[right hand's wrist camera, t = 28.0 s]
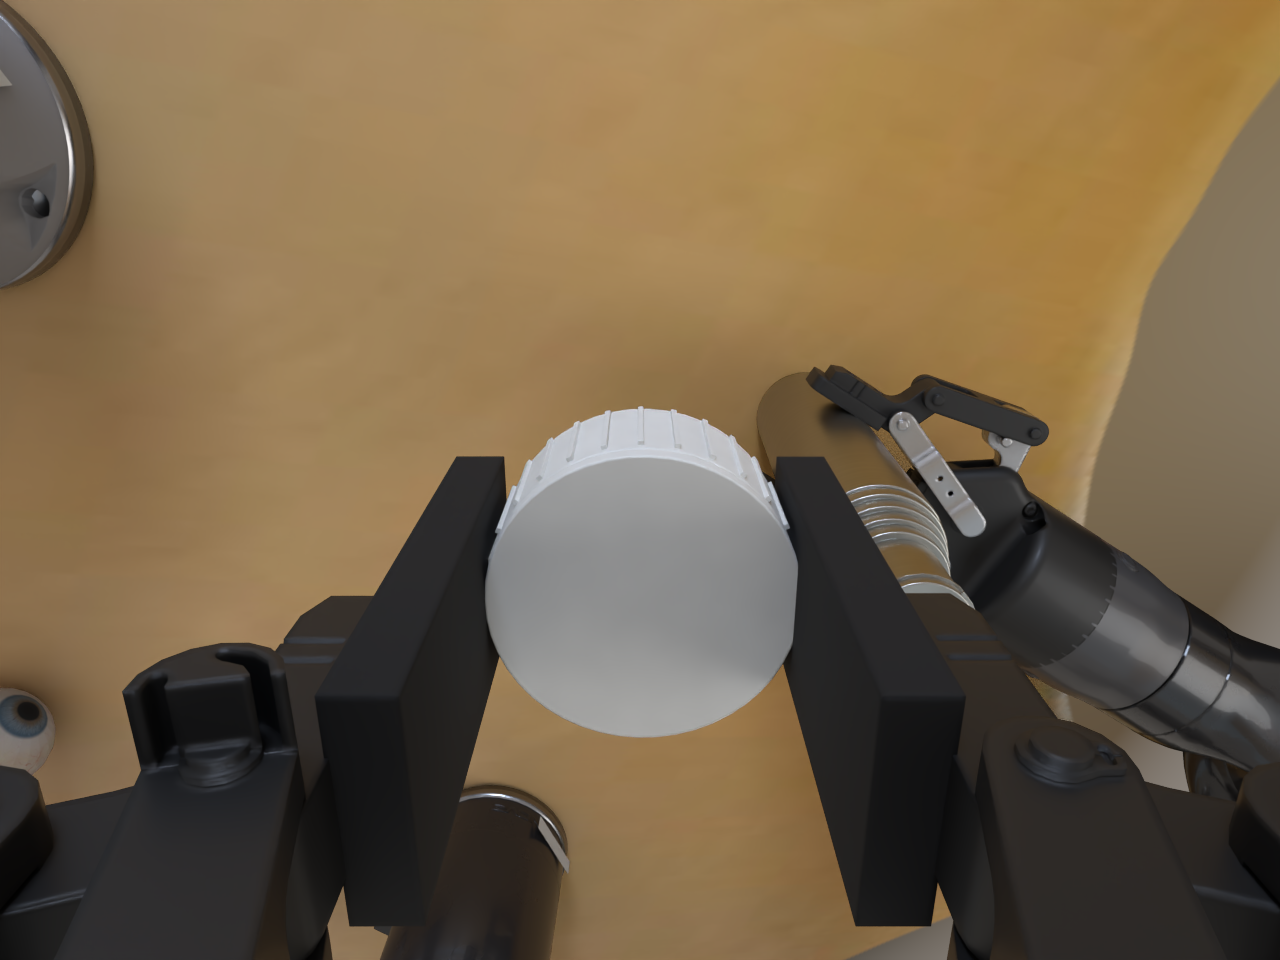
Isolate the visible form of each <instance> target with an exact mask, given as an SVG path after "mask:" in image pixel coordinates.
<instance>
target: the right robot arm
mask: <svg viewBox="0 0 1280 960" xmlns="http://www.w3.org/2000/svg"><path fill="white" fill-rule="evenodd" d="M92 186H93V154H92V146H91V140H90V134H89V130H88V126H87V122H86V118H85V115H84V112H83V109H82V106H81V103H80V101H79V99H78V96H77V94H76V92H75V89H74V87H73V85H72V83H71V81H70V79H69V77H68V76H67V74H66V72H65V70H64V69H63V67H62V65H61V64H60V62H59V61H58V59H57V57H56V56H55V54H54V53H53V52H52V50H51V49H50V48H49V46H48V45H47V44H46V42H45V41H44V40H43V39H42V38H41V36H40V35H39V34H38V33H37V32H36V31H35V30H34V28H33V27H32V26H31V25H30V24H29V23H28V22H27V21H26V20H25V19H24V18H23V17H22V16H21V15H20V14H18V13H17V12H16V11H15V10H14V9H12V8H11V7H10V6H9V5H8V4H6V3H5V2H4V1H2V0H0V290H2V289H7V288H10V287H14V286H18V285H20V284H23V283H25V282H28V281H30V280H32V279H34V278H36V277H37V276H39V275H41V274H43V273H44V272H45V271H47V270H48V269H49V268H51V267H52V266H53V265H54V264H55V263H56V262H57V261H59V260H60V259H61V258H62V256H63V255H64V254H65V253H66V252H67V251H68V249H69V248H70V247H71V245H72V244H73V242H74V241H75V239H76V237H77V236H78V234H79V232H80V230H81V227H82V225H83V223H84V220H85V217H86V215H87V212H88V208H89V204H90V199H91V193H92ZM775 491H776V494H777V496H778V499H779V501H780V504H781V506H782V509H783V512H784V514H785V517H786V519H787V522H788V524H789V527H790V528H789V529H787V530H786V531H787V533H788V536H789V538H790V541H791V544H792V546H793V549H794V551H795V554H796V557H797V561H798V576H797V591H796V605H795V619H794V633H793V645H792V647H791V649H790V651H789V653H788V655H787V657H786V659H785V661H784V663H783V665H784V668H785V672H786V676H787V679H788V683H789V687H790V690H791V694H792V697H793V701H794V705H795V708H796V712H797V715H798V719H799V723H800V726H801V730H802V734H803V737H804V741H805V744H806V748H807V752H808V755H809V759H810V763H811V766H812V770H813V773H814V777H815V781H816V784H817V788H818V792H819V795H820V799H821V802H822V806H823V810H824V813H825V817H826V821H827V824H828V828H829V831H830V835H831V839H832V842H833V846H834V850H835V853H836V857H837V860H838V864H839V868H840V871H841V875H842V878H843V882H844V886H845V889H846V893H847V897H848V900H849V904H850V907H851V911H852V915H853V918H854V922H855V926H931V923H932V916H933V910H934V903H935V897H936V890H937V884H939V886H940V889H941V891H942V894H943V896H944V899H945V901H946V903H947V906H948V908H949V911H950V913H951V916H952V918H953V926H952V932H951V938H950V944H949V950H948V956H947V960H1280V762H1275V763H1269V764H1263V765H1257V766H1256V767H1255V768H1253V769H1252V770H1251V771H1250V772H1249V773H1248V774H1246V775H1245V776H1244V778H1243V781H1242V785H1241V788H1240V791H1239V795H1238V798H1237V801H1236V802H1235V801H1230V800H1225V799H1220V798H1215V797H1210V796H1206V795H1201V794H1196V793H1191V792H1186V791H1181V790H1176V789H1172V788H1167V787H1164V786H1160V785H1156V784H1152V783H1149V782H1145V781H1144V779H1143V777H1142V775H1141V773H1140V771H1139V769H1138V768H1137V766H1136V765H1135V764H1134V762H1133V761H1132V760H1131V758H1130V757H1129V756H1128V755H1127V753H1126V752H1125V751H1124V750H1123V749H1121V748H1120V747H1119V746H1117V745H1116V744H1114V743H1113V742H1112V741H1110V740H1109V739H1107V738H1106V737H1105V736H1103V735H1102V734H1099V733H1097V732H1095V731H1092V730H1090V729H1088V728H1085V727H1083V726H1081V725H1078V724H1076V723H1074V722H1069V721H1065V720H1060V719H1057V717H1056V716H1055V714H1054V713H1053V712H1052V710H1051V709H1050V708H1049V706H1048V705H1047V703H1046V702H1045V701H1044V699H1043V698H1042V697H1041V695H1040V694H1039V693H1038V691H1037V690H1036V688H1035V687H1034V686H1033V684H1032V683H1031V682H1030V680H1029V679H1028V677H1027V676H1026V675H1025V673H1024V672H1023V671H1022V669H1021V668H1020V667H1019V665H1018V664H1017V662H1016V661H1015V660H1012V659H1011V654H1010V653H1009V651H1008V650H1007V649H1006V647H1005V646H1004V645H1003V643H1002V642H1001V641H998V640H997V635H996V634H995V632H994V631H993V630H992V628H991V627H990V625H989V624H988V623H987V621H986V620H985V619H984V617H983V616H982V614H981V613H980V612H978V611H977V610H975V609H974V608H972V607H970V606H969V605H967V604H966V603H964V602H963V601H961V600H960V599H958V598H957V597H955V596H954V595H952V594H950V593H905V592H904V590H903V589H902V587H901V585H900V584H899V582H898V580H897V579H896V577H895V575H894V574H893V572H892V570H891V568H890V567H889V565H888V563H887V562H886V560H885V558H884V557H883V555H882V553H881V552H880V550H879V548H878V547H877V545H876V543H875V542H874V540H873V538H872V536H871V535H870V533H869V531H868V530H867V528H866V526H865V525H864V523H863V521H862V520H861V518H860V516H859V515H858V513H857V511H856V510H855V508H854V506H853V504H852V503H851V501H850V499H849V498H848V496H847V494H846V493H845V491H844V489H843V488H842V486H841V484H840V483H839V481H838V479H837V478H836V476H835V474H834V472H833V471H832V469H831V467H830V466H829V464H828V462H827V461H826V459H825V457H776V474H775ZM506 502H507V499H506V481H505V464H504V457H456V458H455V460H454V462H453V463H452V465H451V467H450V468H449V470H448V472H447V473H446V475H445V477H444V479H443V480H442V482H441V484H440V485H439V487H438V489H437V490H436V492H435V494H434V495H433V497H432V499H431V500H430V502H429V504H428V506H427V507H426V509H425V511H424V512H423V514H422V516H421V517H420V519H419V521H418V522H417V524H416V526H415V527H414V529H413V531H412V532H411V534H410V536H409V538H408V539H407V541H406V543H405V544H404V546H403V548H402V549H401V551H400V553H399V554H398V556H397V558H396V559H395V561H394V563H393V564H392V566H391V568H390V570H389V571H388V573H387V575H386V576H385V578H384V580H383V581H382V583H381V585H380V586H379V588H378V590H377V591H376V593H375V595H374V596H330V597H329V598H327V599H326V600H324V601H323V602H321V603H320V604H318V605H317V606H315V607H314V608H312V609H310V610H309V611H307V612H306V613H304V614H303V615H301V616H300V618H299V619H298V620H297V622H296V623H295V624H294V626H293V627H292V629H291V630H290V631H289V633H288V634H287V635H286V637H285V638H284V644H280V645H279V647H278V648H277V649H276V651H274V650H272V649H271V648H268V647H264V646H260V645H256V644H252V643H220V644H214V645H209V646H204V647H199V648H194V649H190V650H187V651H184V652H182V653H179V654H176V655H174V656H171V657H168V658H166V659H163V660H161V661H159V662H158V663H156V664H154V665H153V666H151V667H149V668H148V669H146V670H144V671H143V672H141V673H139V674H138V675H137V676H136V677H135V678H134V679H133V680H132V681H131V682H130V683H129V685H128V686H127V687H126V688H125V689H124V690H123V691H122V693H123V697H124V701H125V705H126V709H127V714H128V718H129V722H130V726H131V730H132V734H133V738H134V742H135V746H136V751H137V755H138V759H139V763H140V767H141V772H140V774H139V776H138V779H137V781H136V783H135V785H134V786H132V787H128V788H124V789H121V790H117V791H113V792H109V793H104V794H99V795H94V796H89V797H84V798H80V799H75V800H70V801H65V802H60V803H55V804H51V805H46V806H45V802H44V799H43V795H42V792H41V789H40V785H39V782H38V780H37V779H36V778H34V777H33V776H32V775H31V774H30V773H29V772H27V771H26V770H25V769H19V768H13V767H7V766H0V960H333V959H332V952H331V944H330V938H329V932H328V926H327V925H328V922H329V920H330V917H331V915H332V912H333V910H334V907H335V905H336V902H337V900H338V897H339V895H340V892H341V890H342V887H343V886H344V893H345V899H346V906H347V912H348V919H349V926H425V924H426V920H427V917H428V913H429V910H430V906H431V902H432V899H433V895H434V891H435V888H436V884H437V881H438V877H439V873H440V870H441V866H442V862H443V859H444V855H445V852H446V848H447V844H448V841H449V837H450V833H451V830H452V826H453V823H454V819H455V815H456V812H457V808H458V805H459V801H460V797H461V794H462V790H463V786H464V783H465V779H466V776H467V772H468V768H469V765H470V761H471V757H472V754H473V750H474V747H475V743H476V739H477V736H478V732H479V728H480V725H481V721H482V718H483V714H484V710H485V707H486V703H487V699H488V696H489V692H490V689H491V685H492V681H493V678H494V674H495V670H496V667H497V663H498V660H499V654H498V652H497V650H496V647H495V645H494V643H493V640H492V638H491V635H490V631H489V627H488V623H487V619H486V608H485V579H486V574H487V569H488V558H489V555H490V553H491V550H492V547H493V545H494V542H495V539H496V536H497V533H495V531H496V528H497V526H498V523H499V520H500V518H501V515H502V512H503V510H504V507H505V504H506Z"/></svg>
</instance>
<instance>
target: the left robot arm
mask: <svg viewBox="0 0 1280 960" xmlns="http://www.w3.org/2000/svg"><path fill="white" fill-rule="evenodd" d="M806 381H807V382H808V384H809V385H810V387H812V388H813V389H814V390H815V391H817V392H818V393H820V394H821V395H823V396H824V397H826V398H827V399H829V400H830V401H832V402H834V403H835V404H837V405H838V406H840V407H841V408H843V409H844V410H846V411H848V412H849V413H851V414H852V415H854V416H855V417H857V418H859V419H860V420H862V421H863V422H865V423H866V424H868V425H869V426H871V427H872V428H874V429H875V430H877V431H878V430H879V429H880V428H881V427H882V428H883V429H885V430H886V431H888V432H889V433H890V435H891V436H892V438H893V439H894V440H895V442H896V443H897V445H898V447H899V448H900V450H901V451H902V452H903V454H904V455H905V457H906V458H907V460H908V461H909V462H910V464H911V465H912V467H913V468H914V470H913V469H911V468H910V469H909V470H908V471H907V473H906V474H907V475H908V476H909V478H910V479H911V480H912V482H913V483H914V484H915V485H916V487H917V488H918V489H919V490H920V492H921V493H922V494H923V496H924V497H925V498H926V499H927V501H928V502H929V503H930V505H931V506H932V507H933V508H934V510H935V511H936V513H937V514H938V516H939V518H940V520H941V523H942V526H943V528H944V530H945V533H946V537H947V541H948V551H949V561H950V573H951V578H952V580H953V581H954V582H955V583H956V584H958V585H959V586H960V587H961V588H962V589H963V591H964V592H965V593H966V595H967V596H968V597H969V599H970V600H971V601H972V603H973V606H974V608H975V610H977V611H978V612H980V613H981V614H982V616H983V617H984V619H985V620H986V621H987V623H988V624H989V625H990V627H991V628H992V630H993V631H994V632H995V634H996V635H997V640H998V641H1001V642H1002V643H1003V645H1004V646H1005V647H1006V649H1007V650H1008V651H1009V653H1010V654H1011V659H1012V660H1015V661H1016V662H1017V664H1018V665H1019V667H1020V668H1021V669H1022V671H1023V672H1024V673H1025V674H1027V675H1028V676H1030V677H1032V678H1036V679H1039V680H1041V681H1042V682H1044V683H1046V684H1047V685H1049V686H1051V687H1053V688H1055V689H1057V690H1059V691H1061V692H1063V693H1066V694H1068V695H1070V696H1073V697H1075V698H1078V699H1080V700H1082V701H1084V702H1086V703H1088V704H1090V705H1092V706H1094V707H1095V708H1097V709H1099V710H1100V711H1102V712H1103V713H1105V714H1107V715H1108V716H1110V717H1112V718H1113V719H1115V720H1117V721H1118V722H1120V723H1121V724H1123V725H1125V726H1127V727H1128V728H1130V729H1131V730H1133V731H1134V732H1136V733H1138V734H1140V735H1141V736H1143V737H1145V738H1147V739H1149V740H1151V741H1153V742H1155V743H1158V744H1160V745H1163V746H1165V747H1168V748H1171V749H1175V750H1179V751H1183V760H1184V769H1185V774H1186V779H1187V784H1188V788H1189V792H1191V793H1196V794H1201V795H1206V796H1210V797H1215V798H1220V799H1225V800H1230V801H1235V802H1236V801H1237V798H1238V795H1239V791H1240V788H1241V785H1242V781H1243V778H1244V776H1245V775H1246V774H1248V773H1249V772H1250V771H1251V770H1252V769H1253V768H1255V767H1256V766H1257V765H1263V764H1269V763H1275V762H1280V649H1278V648H1275V647H1272V646H1269V645H1266V644H1263V643H1260V642H1257V641H1254V640H1251V639H1249V638H1246V637H1244V636H1241V635H1239V634H1237V633H1235V632H1233V631H1231V630H1230V629H1228V628H1227V627H1226V626H1224V625H1223V624H1222V623H1220V622H1219V621H1217V620H1216V619H1214V618H1213V617H1211V616H1210V615H1208V614H1207V613H1205V612H1204V611H1202V610H1201V609H1199V608H1197V607H1196V606H1194V605H1193V604H1191V603H1190V602H1188V601H1187V600H1185V599H1184V598H1182V597H1181V596H1179V595H1178V594H1176V593H1174V592H1173V591H1172V590H1170V589H1169V588H1168V587H1166V586H1165V585H1164V584H1163V583H1162V582H1161V581H1160V580H1159V579H1158V578H1157V577H1155V576H1154V575H1153V574H1152V573H1151V572H1150V571H1149V570H1147V569H1146V568H1145V567H1143V566H1142V565H1141V564H1139V563H1138V562H1136V561H1135V560H1133V559H1132V558H1131V557H1130V556H1129V555H1127V554H1126V553H1124V552H1121V551H1120V550H1118V549H1116V548H1115V547H1113V546H1112V545H1110V544H1109V543H1107V542H1106V541H1104V540H1102V539H1101V538H1100V537H1098V536H1097V535H1095V534H1093V533H1092V532H1091V531H1089V530H1087V529H1086V528H1084V527H1083V526H1081V525H1080V524H1078V523H1077V522H1075V521H1074V520H1072V519H1071V518H1069V517H1067V516H1066V515H1064V514H1063V513H1061V512H1060V511H1058V510H1057V509H1055V508H1054V507H1052V506H1051V505H1049V504H1048V503H1046V502H1044V501H1043V500H1041V499H1040V498H1038V497H1037V496H1035V495H1034V494H1032V493H1031V492H1029V491H1028V490H1027V489H1026V487H1025V485H1024V483H1023V480H1022V478H1021V476H1020V475H1019V474H1018V473H1017V472H1018V470H1019V468H1020V466H1021V464H1022V463H1023V461H1024V459H1025V457H1026V455H1027V453H1028V451H1029V449H1030V447H1031V446H1038V445H1040V444H1042V443H1043V442H1044V441H1045V440H1046V439H1047V437H1048V434H1049V429H1048V426H1047V425H1046V424H1045V423H1044V422H1042V421H1041V420H1039V419H1038V418H1037V417H1035V416H1034V415H1032V414H1031V413H1029V412H1028V411H1026V410H1025V409H1023V408H1021V407H1018V406H1016V405H1013V404H1010V403H1007V402H1004V401H1001V400H998V399H996V398H993V397H990V396H987V395H984V394H981V393H978V392H976V391H973V390H970V389H967V388H964V387H961V386H958V385H956V384H953V383H950V382H947V381H944V380H941V379H938V378H936V377H933V376H930V375H925V374H924V375H920V376H918V377H916V378H915V379H914V380H913V382H912V384H911V387H909V388H908V389H906V390H905V391H903V392H902V393H900V394H898V395H894V396H889V395H885V394H883V393H881V392H880V391H878V390H877V389H875V388H874V387H872V386H871V385H869V384H868V383H866V382H865V381H863V380H862V379H860V378H858V377H857V376H855V375H854V374H852V373H851V372H849V371H848V370H846V369H845V368H843V367H840V366H835V365H830V367H829V368H828V369H827V371H826V372H825V373H824V372H823V371H821V370H819V369H818V368H816V367H814V368H813V369H812V371H811V372H810V373H809V375H808V376H807V378H806ZM934 413H937V414H940V415H943V416H945V417H948V418H951V419H954V420H957V421H960V422H963V423H966V424H968V425H971V426H974V427H977V428H980V429H982V438H983V440H984V441H985V442H986V443H987V444H988V445H990V446H991V447H992V448H993V449H994V451H995V456H994V459H987V460H969V461H950V462H945V460H944V459H943V457H942V456H941V455H940V453H939V452H938V451H937V449H936V448H935V447H934V445H933V444H932V443H931V441H930V440H929V438H928V437H927V435H926V434H925V432H924V431H923V429H922V428H921V427H920V425H919V423H921V422H922V421H924V420H925V419H927V418H928V417H930V416H931V415H933V414H934ZM762 473H763V472H762ZM763 475H764V477H765V478H766V480H767V482H772V484H773V486H774V489H775V479H773V478H771V477H770V476H768V475H767V474H765V473H763ZM566 856H567V839H566V835H565V831H564V829H563V827H562V825H561V823H560V821H559V819H558V818H557V816H556V815H555V814H554V813H553V812H552V811H551V810H550V809H549V808H548V807H547V806H546V805H545V804H544V803H543V802H541V801H540V800H538V799H537V798H535V797H533V796H531V795H529V794H527V793H525V792H522V791H520V790H517V789H513V788H509V787H504V786H478V787H472V788H468V789H465V790H462V794H461V797H460V801H459V805H458V808H457V812H456V815H455V819H454V823H453V826H452V830H451V833H450V837H449V841H448V844H447V848H446V852H445V855H444V859H443V862H442V866H441V870H440V873H439V877H438V881H437V884H436V888H435V891H434V895H433V899H432V902H431V906H430V910H429V913H428V917H427V920H426V924H425V926H375V927H374V929H376V930H378V931H380V932H382V933H384V934H386V935H388V938H387V941H386V944H385V947H384V950H383V952H382V955H381V958H380V960H550V957H551V950H552V943H553V936H554V929H555V922H556V915H557V908H558V901H559V895H560V887H561V880H562V875H563V872H564V869H565V870H566V872H567V873H568V871H569V864H570V861H569V860H568V858H567V857H566Z"/></svg>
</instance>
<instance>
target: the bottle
mask: <svg viewBox="0 0 1280 960" xmlns="http://www.w3.org/2000/svg"><path fill="white" fill-rule="evenodd" d="M808 375H809V373H797V374H792V375H789V376H787V377H784V378H782V379H780V380H779V381H777V382H776V383H775V384H773V385H772V386H771V387H770V388H769V389H768V391H767V392H766V393H765V395H764V396H763V398H762V400H761V402H760V404H759V407H758V412H757V427H758V431H759V434H760V437H761V440H762V442H763V445H764V448H765V451H766V454H767V456H768V459H769V462H770V465H771V468H772V471H773V473H774V476H775V474H776V457H825V459H826V461H827V462H828V464H829V466H830V467H831V469H832V471H833V472H834V474H835V476H836V478H837V479H838V481H839V483H840V484H841V486H842V488H843V489H844V491H845V493H846V494H847V496H848V498H849V499H850V501H851V503H852V504H853V506H854V508H855V510H856V511H857V513H858V515H859V516H860V518H861V520H862V521H863V523H864V525H865V526H866V528H867V530H868V531H869V533H870V535H871V536H872V538H873V540H874V542H875V543H876V545H877V547H878V548H879V550H880V552H881V553H882V555H883V557H884V558H885V560H886V562H887V563H888V565H889V567H890V568H891V570H892V572H893V574H894V575H895V577H896V579H897V580H898V582H899V584H900V585H901V587H902V589H903V590H904V592H905V593H950V594H952V595H954V596H955V597H957V598H958V599H960V600H961V601H963V602H964V603H966V604H967V605H969V606H970V607H972V608H974V606H973V603H972V601H971V600H970V599H969V597H968V596H967V595H966V593H965V592H964V591H963V589H962V588H961V587H960V586H959V585H958V584H956V583H955V582H954V581H953V580H952V578H951V573H950V561H949V551H948V541H947V537H946V533H945V530H944V528H943V526H942V523H941V520H940V518H939V516H938V514H937V513H936V511H935V510H934V508H933V507H932V506H931V505H930V503H929V502H928V501H927V499H926V498H925V497H924V496H923V494H922V493H921V492H920V490H919V489H918V488H917V487H916V485H915V484H914V483H913V482H912V480H911V479H910V478H909V476H908V475H907V474H906V473H905V471H904V470H903V469H902V467H901V466H900V465H899V464H898V462H897V461H896V460H895V459H894V457H893V456H892V455H891V453H890V452H889V451H888V450H887V448H886V447H885V446H884V445H883V443H882V442H881V441H880V439H879V438H878V437H877V436H876V434H875V433H874V432H873V430H872V429H871V428H870V427H869V425H868V424H866V423H865V422H863V421H862V420H860V419H859V418H857V417H855V416H854V415H852V414H851V413H849V412H848V411H846V410H844V409H843V408H841V407H840V406H838V405H837V404H835V403H834V402H832V401H830V400H829V399H827V398H826V397H824V396H823V395H821V394H820V393H818V392H817V391H815V390H814V389H813V388H812V387H810V385H809V384H808V382H807V381H806V378H807V376H808ZM974 609H975V608H974Z"/></svg>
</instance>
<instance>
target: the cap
mask: <svg viewBox="0 0 1280 960" xmlns="http://www.w3.org/2000/svg"><path fill="white" fill-rule="evenodd" d="M789 528H790V527H789V524H788V522H787V519H786V517H785V514H784V512H783V509H782V506H781V504H780V501H779V499H778V496H777V494H776V491H775V489H774V486H773V484H772V482H767V480H766V478H765V477H764V475H763V473H762V471H761V468H760V466H759V463H758V460H757V459H756V457H755V456H753V457H752V458H751V457H750V455H749V454H748V453H747V452H746V451H745V450H744V449H743V448H742V447H741V446H740V445H739V444H737V442H736V439H735V437H734V436H732V435H730V436H727V435H726V434H724V433H723V432H722V431H720V430H719V429H717V428H715V427H713V426H711V425H709V424H708V421H707V420H705V419H702V421H701V420H698V419H695V418H693V417H690V416H687V415H684V414H680V413H677V410H674V409H671V411H666V410H656V409H643V406H640V407H638V409H628V410H622V411H615V412H611V411H610V410H608V411H605V414H603V415H599V416H596V417H593V418H590V419H588V420H586V421H583V422H581V423H580V421H577V422H575V423H574V426H573V427H571V428H570V429H568V430H566V431H565V432H563V433H561V434H560V435H559V436H557V437H556V438H555V439H554V440H553V438H550V439H549V440H548V441H547V444H546V446H545V447H544V448H543V449H542V450H541V451H540V452H539V454H538V455H537V456H536V457H535V458H534V459H533V460H532V461H531V460H528V461H527V463H526V465H525V468H524V471H523V473H522V476H521V479H520V481H519V483H518V485H517V486H514V485H513V486H512V489H511V491H510V494H509V496H508V499H507V502H506V504H505V507H504V510H503V512H502V515H501V518H500V520H499V523H498V526H497V528H496V531H495V533H497V536H496V539H495V542H494V545H493V547H492V550H491V553H490V555H489V558H488V569H487V574H486V579H485V608H486V619H487V623H488V627H489V631H490V635H491V638H492V640H493V643H494V645H495V647H496V650H497V652H498V654H499V656H500V658H501V659H502V661H503V663H504V664H505V666H506V668H507V670H508V671H509V672H510V673H511V675H512V676H513V677H514V679H515V680H516V681H517V682H518V684H519V685H520V686H521V687H522V688H523V689H524V690H525V691H526V692H527V693H528V694H529V695H530V696H531V697H532V698H534V699H535V700H536V701H538V702H539V703H540V704H542V705H543V706H544V707H545V708H547V709H548V710H550V711H552V712H553V713H555V714H557V715H558V716H560V717H562V718H564V719H566V720H568V721H570V722H572V723H575V724H577V725H579V726H582V727H585V728H588V729H591V730H594V731H597V732H601V733H606V734H611V735H616V736H626V737H637V738H638V737H661V736H669V735H676V734H680V733H684V732H689V731H693V730H696V729H699V728H702V727H704V726H707V725H710V724H712V723H715V722H717V721H719V720H721V719H723V718H724V717H726V716H728V715H730V714H732V713H733V712H735V711H736V710H738V709H739V708H741V707H742V706H744V705H745V704H747V703H748V702H749V701H750V700H751V699H753V698H754V697H755V696H756V695H757V694H758V693H760V692H761V691H762V690H763V688H764V687H765V686H766V685H767V684H768V683H769V682H770V681H771V680H772V679H773V677H774V676H775V674H776V673H777V671H778V670H779V669H780V667H781V666H782V664H783V663H784V661H785V659H786V657H787V655H788V653H789V651H790V649H791V647H792V645H793V633H794V619H795V605H796V591H797V576H798V561H797V557H796V554H795V551H794V549H793V546H792V544H791V541H790V538H789V536H788V533H787V531H786V530H787V529H789Z"/></svg>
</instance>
